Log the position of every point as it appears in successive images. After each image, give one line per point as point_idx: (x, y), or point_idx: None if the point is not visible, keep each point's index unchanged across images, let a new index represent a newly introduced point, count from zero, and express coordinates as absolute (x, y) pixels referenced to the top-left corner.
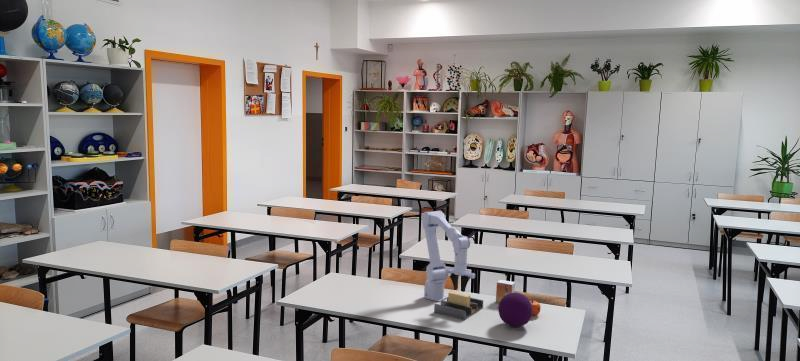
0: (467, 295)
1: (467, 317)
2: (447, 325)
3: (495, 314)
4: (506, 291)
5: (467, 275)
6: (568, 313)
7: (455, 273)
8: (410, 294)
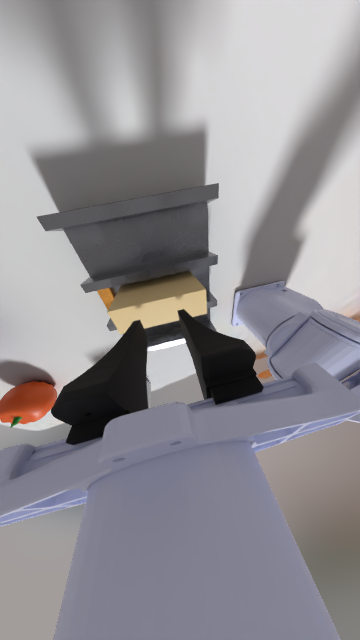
0: (125, 326)
1: (77, 249)
2: (4, 13)
3: (75, 337)
4: None
5: (32, 471)
6: None
7: (161, 432)
8: (321, 276)
